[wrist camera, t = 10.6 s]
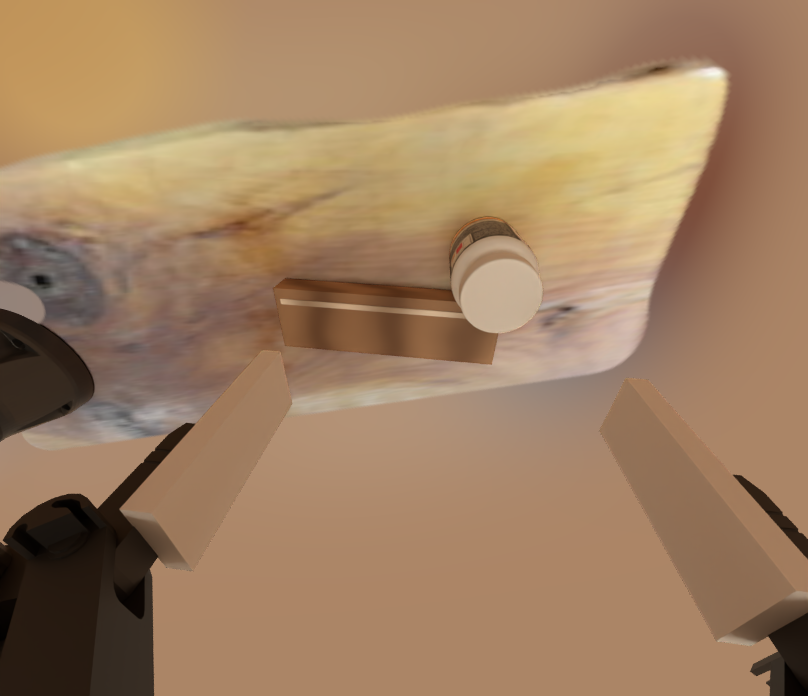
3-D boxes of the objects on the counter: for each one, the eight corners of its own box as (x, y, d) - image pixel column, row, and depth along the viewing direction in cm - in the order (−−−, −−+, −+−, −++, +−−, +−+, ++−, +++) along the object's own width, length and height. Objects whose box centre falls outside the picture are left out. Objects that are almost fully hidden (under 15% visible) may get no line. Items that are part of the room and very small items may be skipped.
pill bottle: (437, 265, 28) (432, 316, 19) (473, 201, 25) (485, 228, 16) (493, 294, 28) (511, 355, 20) (534, 236, 25) (576, 279, 17)
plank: (295, 333, 33) (284, 346, 31) (285, 278, 30) (272, 288, 28) (488, 350, 31) (491, 365, 29) (500, 293, 28) (504, 305, 26)
